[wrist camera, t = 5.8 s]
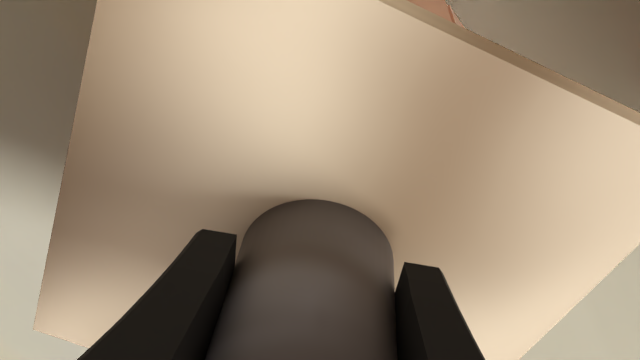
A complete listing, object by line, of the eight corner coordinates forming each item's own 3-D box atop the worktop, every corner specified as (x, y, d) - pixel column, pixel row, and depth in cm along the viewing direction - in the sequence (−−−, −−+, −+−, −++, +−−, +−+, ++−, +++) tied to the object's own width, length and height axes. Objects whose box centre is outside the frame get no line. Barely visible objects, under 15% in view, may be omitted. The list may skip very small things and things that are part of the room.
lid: (49, 303, 13) (-75, 488, 10) (142, -127, 8) (-60, -85, 4) (414, 429, 15) (427, 630, 11) (697, 140, 9) (902, 343, 6)
